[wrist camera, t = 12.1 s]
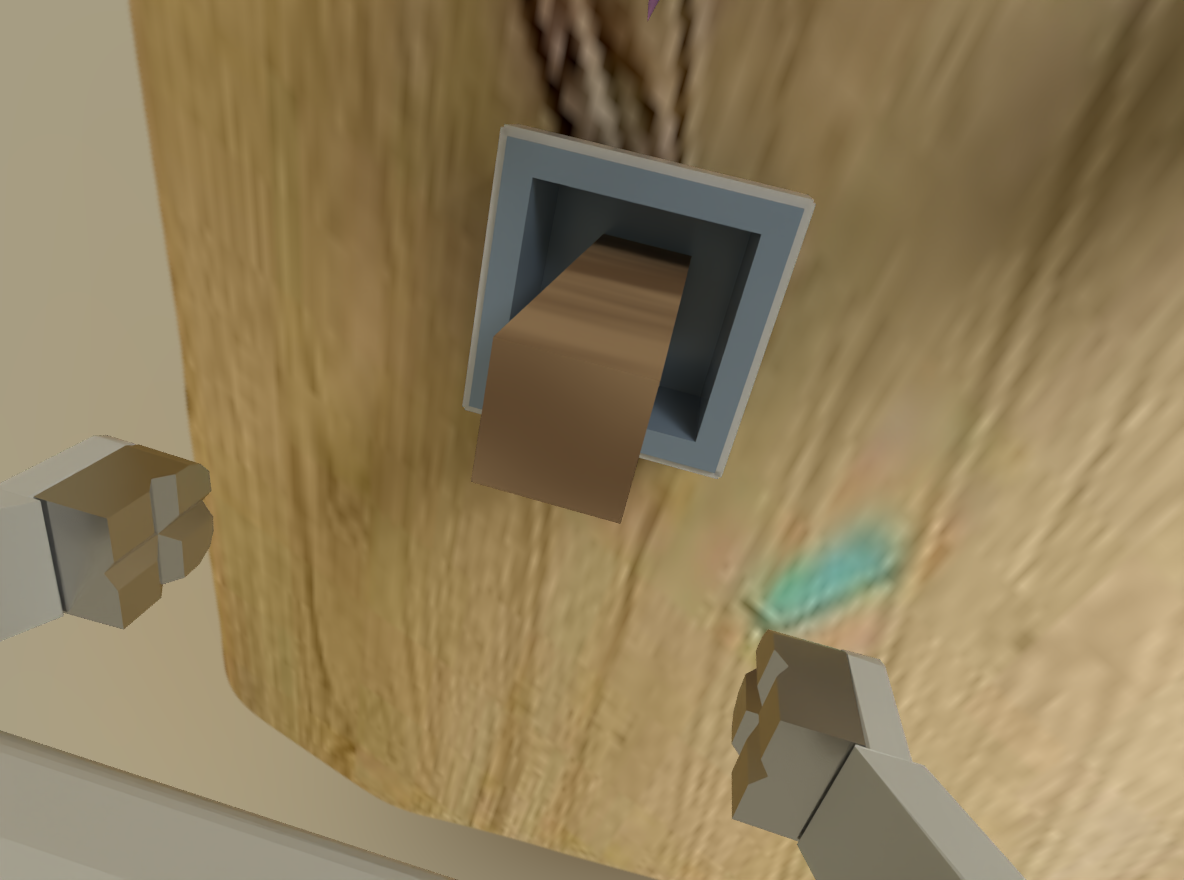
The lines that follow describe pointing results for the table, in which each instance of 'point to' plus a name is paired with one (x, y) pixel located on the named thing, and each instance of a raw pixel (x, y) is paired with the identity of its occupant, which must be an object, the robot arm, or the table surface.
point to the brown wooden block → (581, 379)
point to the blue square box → (661, 219)
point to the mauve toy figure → (651, 7)
